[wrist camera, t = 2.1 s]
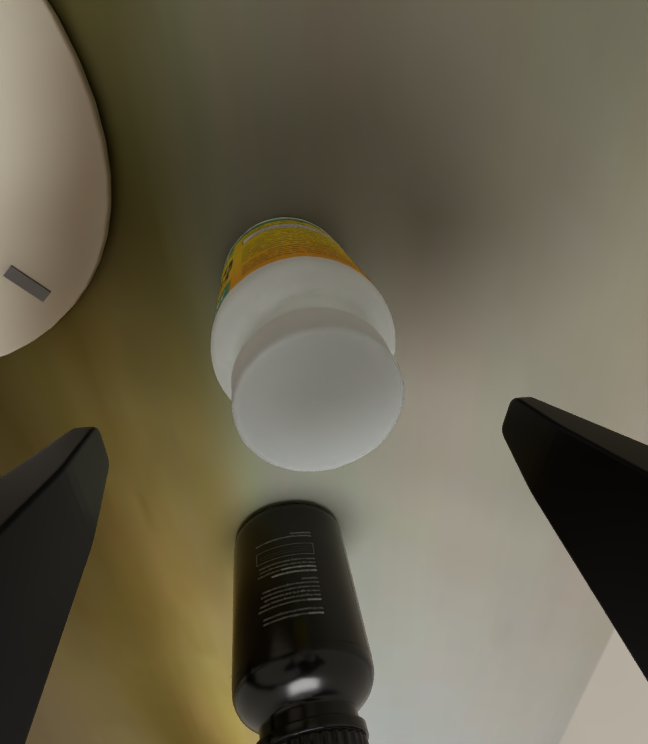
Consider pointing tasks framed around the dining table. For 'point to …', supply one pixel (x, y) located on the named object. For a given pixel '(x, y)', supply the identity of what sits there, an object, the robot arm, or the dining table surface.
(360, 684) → the supplement bottle
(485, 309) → the dining table surface
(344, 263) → the supplement bottle
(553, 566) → the dining table surface
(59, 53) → the turntable
